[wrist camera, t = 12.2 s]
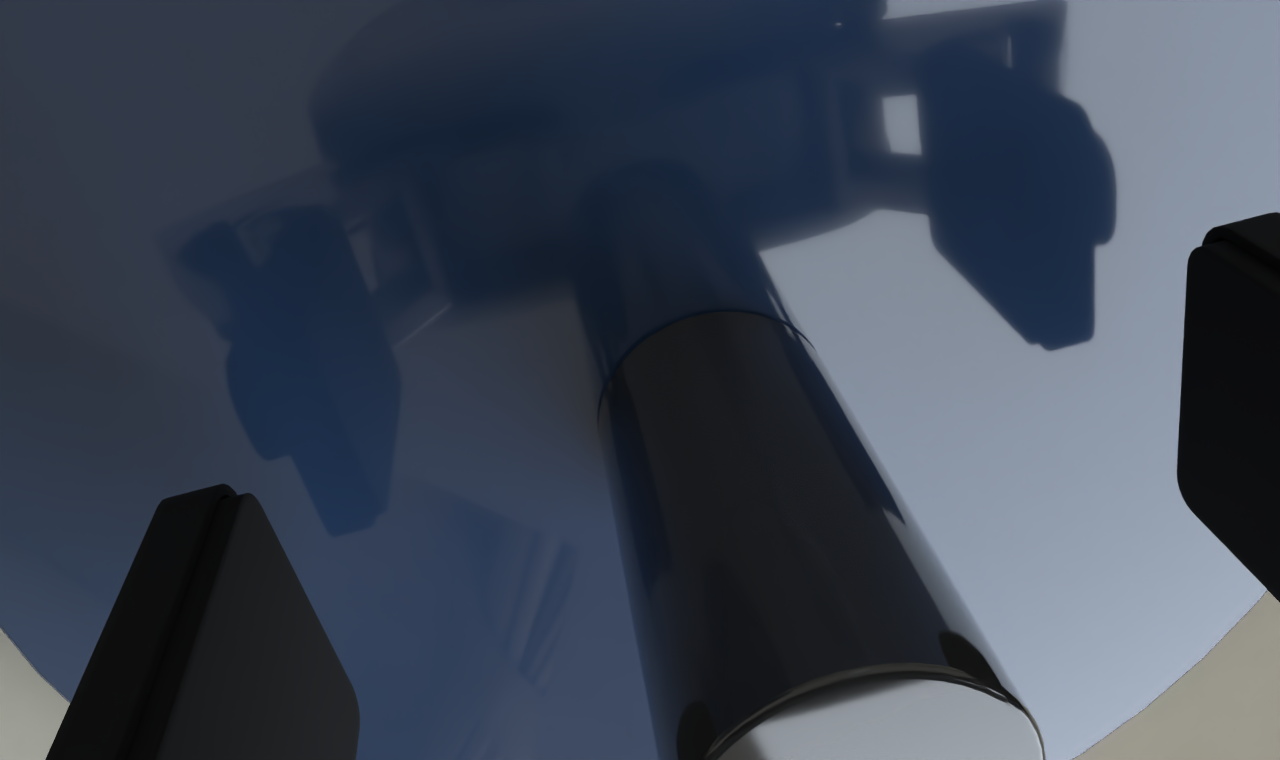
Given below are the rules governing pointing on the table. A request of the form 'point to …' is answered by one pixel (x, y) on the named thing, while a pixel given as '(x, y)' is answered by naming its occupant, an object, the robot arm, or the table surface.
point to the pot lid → (639, 352)
